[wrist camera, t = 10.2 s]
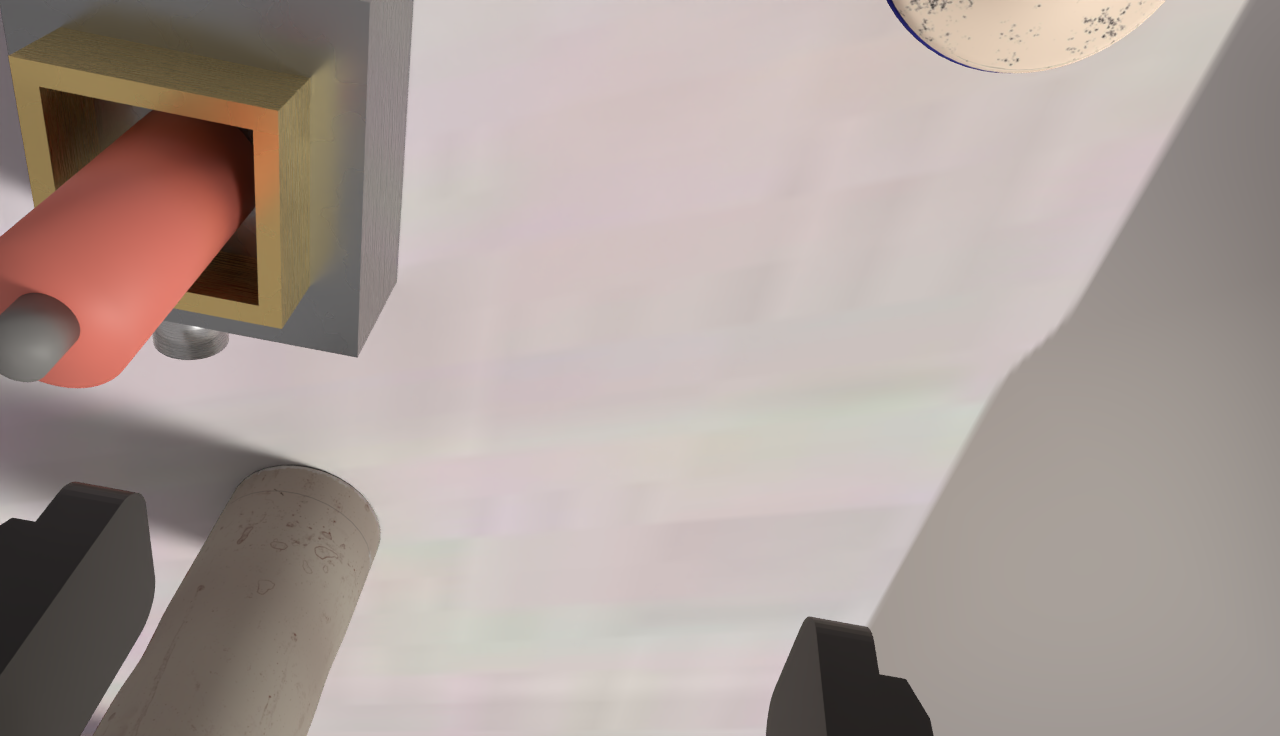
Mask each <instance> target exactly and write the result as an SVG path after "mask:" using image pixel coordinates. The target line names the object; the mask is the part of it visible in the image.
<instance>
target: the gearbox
mask: <svg viewBox="0 0 1280 736" xmlns="http://www.w3.org/2000/svg"><path fill="white" fill-rule="evenodd" d="M0 8H1V13H2V19H3V25H4V31H5V37H6V42H7V48H8V54H9V56H8V57H9V63H10V69H11V75H12V81H13V86H14V92H15V98H16V104H17V110H18V115H19V121H20V127H21V133H22V139H23V144H24V150H25V156H26V162H27V167H28V173H29V179H30V185H31V191H32V196H33V202H34V208H35V207H37V206H38V205H39V204H40V203H41V202H43V201H44V200H45V199H46V198H47V197H49V196H50V195H51V194H52V193H53V192H55V191H56V190H57V189H58V188H59V187H61V186H62V185H63V184H64V183H65V182H66V181H68V180H69V179H70V178H71V177H72V176H74V175H75V174H76V173H77V172H78V171H80V170H81V169H82V168H83V167H84V166H86V165H87V164H88V163H89V162H90V161H92V160H93V159H94V158H95V157H96V156H98V155H99V154H100V153H101V152H102V151H104V150H105V149H106V148H107V147H108V146H110V145H111V144H112V143H113V142H114V141H115V140H117V139H118V138H119V137H120V136H121V135H123V134H124V133H125V132H126V131H127V130H129V129H130V128H131V127H132V126H133V125H135V124H136V123H137V122H138V121H139V120H141V119H142V118H143V117H144V116H145V115H147V114H148V113H149V112H151V111H152V110H157V111H162V112H167V113H172V114H177V115H182V116H187V117H192V118H197V119H202V120H207V121H212V122H217V123H222V124H227V125H232V126H236V127H237V128H238V129H239V130H240V131H241V132H242V133H243V134H244V135H245V136H246V138H247V139H248V140H249V141H250V143H251V144H252V146H253V147H254V176H255V208H254V209H253V210H252V212H251V213H250V214H249V215H248V217H247V218H246V219H245V220H244V222H243V223H242V224H241V225H240V227H239V228H238V229H237V230H236V231H235V233H234V234H233V235H232V236H231V238H230V239H229V240H228V241H227V243H226V244H225V245H224V246H223V248H222V249H221V250H220V251H219V252H218V254H217V255H216V256H215V257H214V259H213V260H212V261H211V262H210V264H209V265H208V266H207V267H206V268H205V270H204V271H203V272H202V273H201V275H200V276H199V277H198V278H197V280H196V281H195V282H194V283H193V285H192V286H191V287H190V288H189V289H188V291H187V292H186V293H185V294H184V296H183V297H182V298H181V299H180V301H179V302H178V303H177V304H176V306H175V307H174V308H173V309H172V310H171V312H170V313H169V314H168V315H167V317H166V318H165V319H164V320H163V322H162V323H161V324H160V325H159V326H158V328H157V329H156V330H155V331H154V333H153V343H154V346H155V348H156V349H157V350H158V351H159V352H160V353H162V354H164V355H166V356H168V357H171V358H175V359H181V360H196V359H203V358H207V357H210V356H213V355H215V354H217V353H219V352H220V351H222V350H223V349H224V348H225V347H226V346H227V344H228V341H229V333H231V334H237V335H242V336H247V337H252V338H258V339H263V340H268V341H273V342H279V343H284V344H289V345H295V346H300V347H305V348H310V349H316V350H321V351H326V352H331V353H337V354H342V355H347V356H352V357H358V355H359V354H360V352H361V350H362V348H363V346H364V344H365V342H366V340H367V338H368V336H369V334H370V332H371V330H372V328H373V326H374V324H375V323H376V321H377V319H378V317H379V315H380V313H381V311H382V309H383V307H384V305H385V303H386V301H387V299H388V297H389V295H390V293H391V292H392V290H393V288H394V286H395V284H396V282H397V266H398V249H399V232H400V216H401V199H402V182H403V165H404V149H405V132H406V115H407V98H408V81H409V65H410V48H411V31H412V14H413V0H0Z"/></svg>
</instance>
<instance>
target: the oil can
mask: <svg viewBox="0 0 1280 736" xmlns="http://www.w3.org/2000/svg"><path fill="white" fill-rule="evenodd" d="M254 208H255V176H254V147H253V146H252V144H251V143H250V141H249V140H248V139H247V138H246V136H245V135H244V134H243V133H242V132H241V131H240V130H239V129H238V128H237V127H236V126H232V125H227V124H222V123H217V122H212V121H207V120H202V119H197V118H192V117H187V116H182V115H177V114H172V113H167V112H162V111H157V110H152V111H151V112H149V113H148V114H147V115H145V116H144V117H143V118H142V119H141V120H139V121H138V122H137V123H136V124H135V125H133V126H132V127H131V128H130V129H129V130H127V131H126V132H125V133H124V134H123V135H121V136H120V137H119V138H118V139H117V140H115V141H114V142H113V143H112V144H111V145H110V146H108V147H107V148H106V149H105V150H104V151H102V152H101V153H100V154H99V155H98V156H96V157H95V158H94V159H93V160H92V161H90V162H89V163H88V164H87V165H86V166H84V167H83V168H82V169H81V170H80V171H78V172H77V173H76V174H75V175H74V176H72V177H71V178H70V179H69V180H68V181H66V182H65V183H64V184H63V185H62V186H61V187H59V188H58V189H57V190H56V191H55V192H53V193H52V194H51V195H50V196H49V197H47V198H46V199H45V200H44V201H43V202H41V203H40V204H39V205H38V206H37V207H35V208H34V209H33V210H32V211H31V212H29V213H28V214H27V215H26V216H25V217H23V218H22V219H21V220H20V221H19V222H17V223H16V224H15V225H14V226H13V227H12V228H10V229H9V230H8V231H7V232H6V233H4V234H3V235H2V236H1V237H0V374H1V375H3V376H5V377H7V378H10V379H13V380H16V381H21V382H34V381H41V382H44V383H47V384H51V385H55V386H60V387H67V388H88V387H94V386H98V385H101V384H104V383H106V382H108V381H110V380H112V379H114V378H115V377H116V376H118V375H119V374H120V373H121V372H122V371H123V370H124V368H125V367H126V366H127V365H128V363H129V362H130V361H131V360H132V359H133V357H134V356H135V355H136V354H137V352H138V351H139V350H140V349H141V347H142V346H143V345H144V344H145V343H146V341H147V340H148V339H149V338H150V336H151V335H152V334H153V333H154V331H155V330H156V329H157V328H158V326H159V325H160V324H161V323H162V322H163V320H164V319H165V318H166V317H167V315H168V314H169V313H170V312H171V310H172V309H173V308H174V307H175V306H176V304H177V303H178V302H179V301H180V299H181V298H182V297H183V296H184V294H185V293H186V292H187V291H188V289H189V288H190V287H191V286H192V285H193V283H194V282H195V281H196V280H197V278H198V277H199V276H200V275H201V273H202V272H203V271H204V270H205V268H206V267H207V266H208V265H209V264H210V262H211V261H212V260H213V259H214V257H215V256H216V255H217V254H218V252H219V251H220V250H221V249H222V248H223V246H224V245H225V244H226V243H227V241H228V240H229V239H230V238H231V236H232V235H233V234H234V233H235V231H236V230H237V229H238V228H239V227H240V225H241V224H242V223H243V222H244V220H245V219H246V218H247V217H248V215H249V214H250V213H251V212H252V210H253V209H254Z"/></svg>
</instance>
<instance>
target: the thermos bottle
mask: <svg viewBox="0 0 1280 736" xmlns="http://www.w3.org/2000/svg"><path fill="white" fill-rule="evenodd" d="M379 542H380V526H379V522H378V519H377V516H376V514H375V512H374V510H373V508H372V507H371V505H370V504H369V503H368V502H367V500H366V499H365V498H364V497H363V496H362V495H361V494H360V493H359V492H358V491H357V490H355V489H354V488H353V487H352V486H350V485H349V484H347V483H346V482H344V481H343V480H341V479H339V478H337V477H335V476H333V475H330V474H328V473H326V472H323V471H320V470H316V469H313V468H308V467H302V466H276V467H270V468H266V469H263V470H260V471H258V472H255V473H253V474H252V475H250V476H249V477H247V478H246V479H244V480H243V481H242V483H241V484H240V485H239V486H238V487H237V488H236V490H235V492H234V493H233V495H232V497H231V498H230V500H229V502H228V504H227V505H226V507H225V509H224V510H223V512H222V514H221V516H220V517H219V519H218V521H217V522H216V524H215V526H214V528H213V529H212V531H211V533H210V535H209V536H208V538H207V540H206V542H205V543H204V545H203V547H202V549H201V550H200V552H199V554H198V555H197V557H196V559H195V560H194V562H193V564H192V566H191V567H190V569H189V571H188V572H187V574H186V576H185V578H184V579H183V581H182V583H181V585H180V586H179V588H178V590H177V591H176V593H175V595H174V597H173V598H172V600H171V602H170V604H169V605H168V607H167V609H166V611H165V613H164V615H163V616H162V618H161V620H160V622H159V624H158V626H157V629H156V631H155V633H154V634H153V636H152V638H151V640H150V642H149V644H148V646H147V648H146V650H145V652H144V654H143V656H142V658H141V660H140V661H139V663H138V664H137V666H136V667H135V669H134V670H133V672H132V673H131V675H130V676H129V677H128V679H127V680H126V682H125V683H124V685H123V686H122V687H121V689H120V691H119V692H118V694H117V695H116V697H115V698H114V700H113V702H112V703H111V705H110V707H109V709H108V710H107V712H106V714H105V715H104V717H103V719H102V720H101V722H100V724H99V726H98V727H97V729H96V731H95V733H94V734H93V736H306V735H307V733H308V730H309V728H310V725H311V722H312V720H313V717H314V714H315V711H316V709H317V706H318V703H319V699H320V696H321V693H322V690H323V687H324V684H325V681H326V679H327V676H328V673H329V671H330V668H331V666H332V663H333V661H334V659H335V656H336V654H337V652H338V650H339V647H340V645H341V643H342V640H343V638H344V635H345V633H346V631H347V628H348V625H349V623H350V620H351V618H352V615H353V612H354V610H355V607H356V604H357V602H358V599H359V597H360V594H361V591H362V589H363V586H364V583H365V581H366V578H367V576H368V573H369V570H370V568H371V565H372V562H373V560H374V557H375V555H376V552H377V549H378V546H379Z"/></svg>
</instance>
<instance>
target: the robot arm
mask: <svg viewBox="0 0 1280 736" xmlns="http://www.w3.org/2000/svg"><path fill="white" fill-rule="evenodd" d="M154 592H155V574H154V566H153V558H152V550H151V542H150V534H149V526H148V518H147V510H146V504H145V500H144V498H143V496H142V495H141V494H139V493H135V492H129V491H124V490H118V489H113V488H107V487H102V486H96V485H91V484H85V483H80V482H72V483H69V484H68V485H66V486H65V487H64V488H62V489H61V491H60V492H59V493H58V494H57V495H56V497H55V498H54V499H53V500H52V502H51V503H50V504H49V505H48V507H47V508H46V509H45V510H44V512H43V513H42V514H41V515H40V517H39V518H38V519H37V521H36V522H33V521H28V520H22V519H17V518H11V519H9V520H8V521H6V522H5V523H3V524H2V525H0V736H80V735H81V733H82V732H83V730H84V728H85V727H86V725H87V723H88V721H89V720H90V718H91V716H92V715H93V713H94V711H95V710H96V708H97V706H98V705H99V703H100V701H101V700H102V698H103V696H104V695H105V693H106V691H107V689H108V688H109V686H110V684H111V683H112V681H113V679H114V678H115V676H116V674H117V673H118V671H119V669H120V668H121V666H122V664H123V662H124V661H125V659H126V657H127V656H128V654H129V652H130V651H131V649H132V647H133V646H134V644H135V642H136V641H137V639H138V637H139V635H140V634H141V632H142V630H143V628H144V626H145V624H146V621H147V619H148V616H149V613H150V610H151V606H152V603H153V598H154ZM766 736H933V731H932V727H931V721H930V718H929V717H928V715H927V713H926V712H925V710H924V708H923V707H922V705H921V703H920V702H919V700H918V698H917V697H916V695H915V694H914V692H913V690H912V688H911V687H910V685H909V684H908V682H907V680H906V679H902V678H897V677H891V676H885V675H880V674H879V670H878V664H877V657H876V651H875V645H874V640H873V636H872V633H871V631H870V629H869V628H868V627H865V626H859V625H853V624H848V623H842V622H837V621H831V620H826V619H820V618H815V617H807V618H806V619H805V620H804V622H803V624H802V626H801V628H800V630H799V633H798V635H797V637H796V640H795V642H794V644H793V647H792V649H791V651H790V654H789V656H788V658H787V661H786V663H785V665H784V668H783V670H782V673H781V675H780V677H779V680H778V682H777V684H776V687H775V689H774V692H773V695H772V698H771V702H770V707H769V712H768V719H767V730H766Z"/></svg>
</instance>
